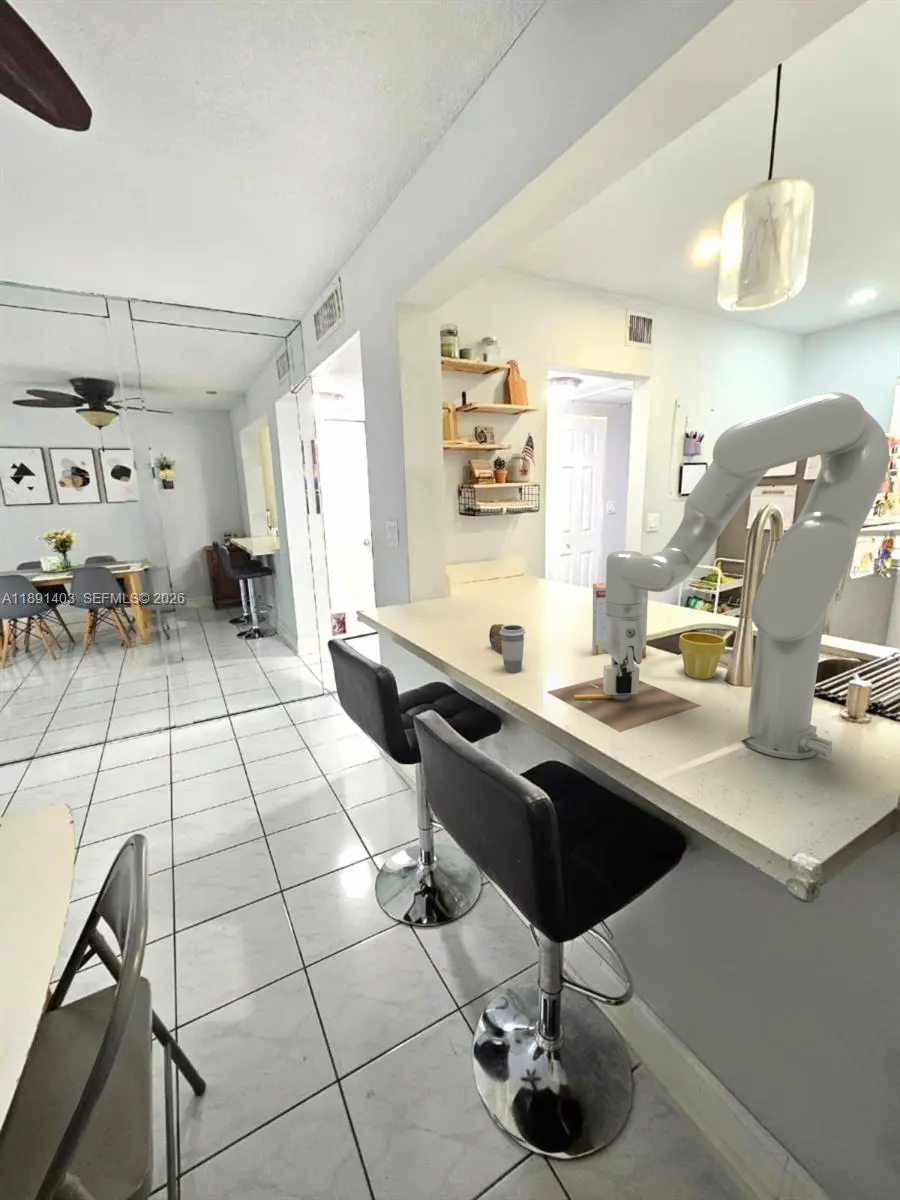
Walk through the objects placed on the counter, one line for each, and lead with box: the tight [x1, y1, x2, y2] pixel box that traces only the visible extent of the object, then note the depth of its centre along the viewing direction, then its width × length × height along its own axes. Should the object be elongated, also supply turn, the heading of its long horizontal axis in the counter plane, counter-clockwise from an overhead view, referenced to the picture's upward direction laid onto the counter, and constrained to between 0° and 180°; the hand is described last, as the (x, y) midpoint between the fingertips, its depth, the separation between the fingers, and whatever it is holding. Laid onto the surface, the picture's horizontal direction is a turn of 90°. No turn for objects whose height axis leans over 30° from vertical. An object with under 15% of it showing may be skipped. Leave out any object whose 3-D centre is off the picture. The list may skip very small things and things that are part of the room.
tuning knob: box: [575, 663, 640, 701], centre depth 111 cm, size 14×4×7 cm, turn 88°
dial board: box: [547, 677, 702, 733], centre depth 112 cm, size 23×23×2 cm
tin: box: [488, 623, 506, 655], centre depth 149 cm, size 15×3×8 cm, turn 25°
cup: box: [499, 624, 526, 674], centre depth 134 cm, size 7×7×12 cm
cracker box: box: [591, 582, 649, 659], centre depth 142 cm, size 14×6×21 cm, turn 84°
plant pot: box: [678, 631, 726, 680], centre depth 126 cm, size 10×10×10 cm
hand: (620, 689), depth 111 cm, fingers closed on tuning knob, 2 cm apart
